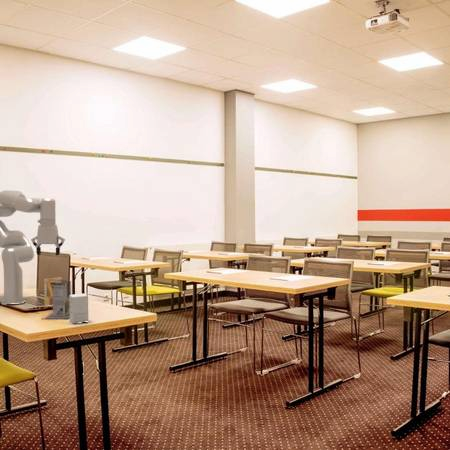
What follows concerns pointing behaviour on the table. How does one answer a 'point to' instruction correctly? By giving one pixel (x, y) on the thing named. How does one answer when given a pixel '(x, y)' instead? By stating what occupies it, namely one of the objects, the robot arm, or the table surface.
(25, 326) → the table surface
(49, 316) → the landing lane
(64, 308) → the coffee box
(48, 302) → the candy box
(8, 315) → the table surface
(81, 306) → the supplement box
